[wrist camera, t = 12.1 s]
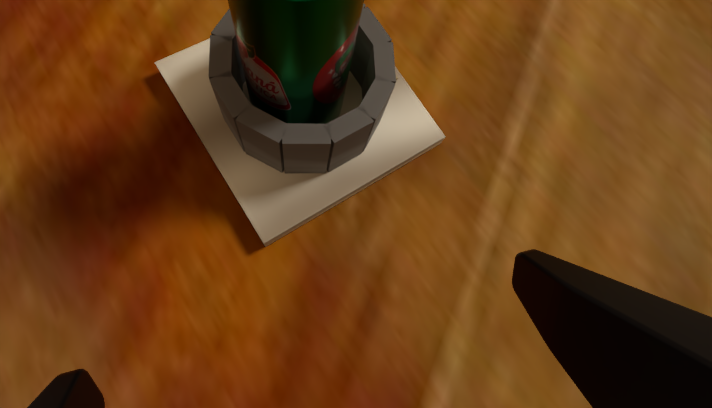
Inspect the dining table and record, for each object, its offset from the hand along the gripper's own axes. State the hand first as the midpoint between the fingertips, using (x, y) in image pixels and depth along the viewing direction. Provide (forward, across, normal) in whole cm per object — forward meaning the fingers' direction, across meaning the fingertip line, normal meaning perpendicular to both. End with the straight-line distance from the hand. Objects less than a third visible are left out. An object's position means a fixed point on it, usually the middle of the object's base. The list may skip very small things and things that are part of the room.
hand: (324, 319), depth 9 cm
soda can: (+17, -2, +1) cm, 17 cm away
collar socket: (+18, -2, +1) cm, 18 cm away
